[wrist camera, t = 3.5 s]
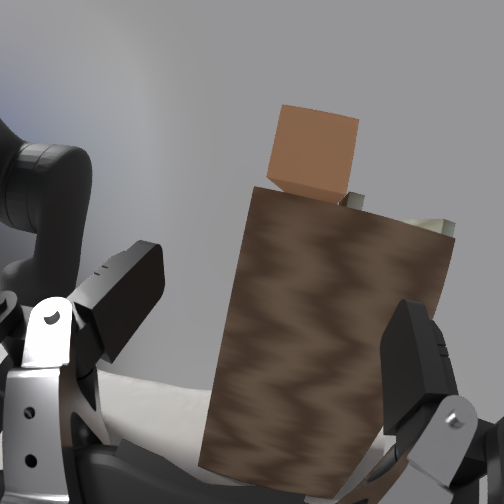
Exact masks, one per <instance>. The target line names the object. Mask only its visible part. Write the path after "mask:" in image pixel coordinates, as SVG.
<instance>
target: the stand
mask: <svg viewBox="0 0 504 504" xmlns="http://www.w3.org/2000/svg"><path fill="white" fill-rule="evenodd" d="M364 197H365V195H361V194H357V193H354V192H349V193H348V194H347V195H346V196H345V197H344V198H343V199H342V200H341V201H340V202H339V205H337V204H333V203H329V202H325V201H321V200H316V199H312V198H308V197H303V196H299V195H294V194H290V193H285V192H280V191H275V190H270V189H266V188H261V187H254V189H253V193H252V198H251V203H250V208H249V212H248V217H247V221H246V226H245V231H244V236H243V240H242V245H241V250H240V255H239V259H238V264H237V269H236V274H235V279H234V283H233V289H232V294H231V299H230V303H229V308H228V313H227V318H226V323H225V328H224V333H223V338H222V343H221V348H220V353H219V358H218V363H217V368H216V374H215V378H214V383H213V389H212V394H211V399H210V404H209V409H208V414H207V420H206V425H205V430H204V436H203V441H202V446H201V452H200V457H199V463H198V466H199V467H202V468H205V469H207V470H210V471H213V472H216V473H219V474H222V475H225V476H228V477H231V478H234V479H237V480H241V481H244V482H248V483H251V484H255V485H259V486H263V487H267V488H271V489H275V490H281V491H287V492H294V493H301V494H305V495H306V496H312V497H319V498H327V499H332V498H333V497H334V496H335V495H336V493H337V492H338V491H339V490H340V488H341V487H342V486H343V485H344V483H345V482H346V481H347V479H348V478H349V477H350V475H351V474H352V472H353V471H354V470H355V468H356V467H357V465H358V464H359V463H360V461H361V460H362V458H363V457H364V455H365V454H366V452H367V451H368V449H369V448H370V446H371V445H372V443H373V441H374V440H375V438H376V437H377V435H378V433H379V432H380V430H381V428H382V427H383V391H382V374H381V360H380V342H381V338H382V335H383V332H384V331H385V329H386V327H387V325H388V323H389V321H390V319H391V317H392V315H393V313H394V311H395V309H396V307H397V305H398V303H399V302H400V301H401V300H402V299H407V300H412V301H417V302H422V303H424V304H425V307H426V310H427V313H428V316H429V319H430V320H432V319H433V316H434V314H435V311H436V307H437V305H438V302H439V299H440V295H441V292H442V289H443V286H444V282H445V278H446V275H447V271H448V267H449V264H450V260H451V256H452V252H453V247H454V243H455V238H453V232H454V228H455V223H454V222H451V221H448V220H445V219H404V221H403V222H401V221H397V220H394V219H390V218H387V217H383V216H380V215H376V214H372V213H368V212H365V211H362V207H363V201H364Z"/></svg>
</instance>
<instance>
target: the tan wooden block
mask: <svg viewBox="0 0 504 504" xmlns="http://www.w3.org/2000/svg"><path fill="white" fill-rule="evenodd" d="M358 123H359V119H355V118H350V117H347V116H342V115H338V114H333V113H328V112H323V111H317V110H313V109H307V108H301V107H295V106H288V105H282V107H281V112H280V116H279V121H278V126H277V131H276V135H275V140H274V144H273V149H272V153H271V158H270V162H269V168H268V172H267V176H266V177H267V178H268V179H269V180H271V181H272V182H273V183H274V184H275V185H277V186H278V187H279V188H280V189H282V190H283V191H284V192H285V193H290V194H294V195H299V196H303V197H308V198H312V199H316V200H321V201H325V202H329V203H333V204H337V203H338V202H339V201H340V200H341V199H342V198H343V197H344V196H345V195H346V192H347V187H348V182H349V176H350V171H351V166H352V160H353V154H354V148H355V142H356V136H357V130H358Z"/></svg>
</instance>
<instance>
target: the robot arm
mask: <svg viewBox="0 0 504 504" xmlns="http://www.w3.org/2000/svg"><path fill="white" fill-rule="evenodd" d="M91 186H92V165H91V160H90V157H89V156H88V154H87V152H86V151H85V150H83V149H82V148H79V147H75V146H68V145H55V144H39V143H30V142H27V141H24V140H22V139H20V138H19V137H18V136H17V135H15V134H14V133H13V132H12V131H11V130H10V129H9V128H8V127H7V126H6V124H5V123H4V122H3V121H2V120H1V119H0V221H1V222H2V223H3V224H5V225H7V226H9V227H11V228H14V229H18V230H22V231H26V232H31V233H35V234H37V237H36V244H35V251H34V256H33V257H32V258H27V259H22V260H18V261H15V262H13V263H11V264H9V265H8V266H6V267H5V269H4V270H3V272H2V277H1V285H2V292H0V343H1V344H2V345H3V347H4V348H5V350H6V352H7V353H8V355H7V356H6V358H5V359H4V360H3V361H2V363H1V364H0V433H1V432H2V430H3V437H2V447H3V470H0V504H308V503H305V502H304V498H305V494H301V493H294V492H287V491H281V490H275V489H270V488H265V487H260V486H225V485H210V484H206V483H203V482H201V481H199V480H197V479H196V478H194V477H193V476H191V475H189V474H188V473H186V472H185V471H183V470H182V469H180V468H178V467H177V466H175V465H174V464H172V463H171V462H170V461H168V460H167V459H165V458H164V457H162V456H159V455H157V454H155V453H152V452H150V451H148V450H146V449H143V448H141V447H139V446H137V445H135V444H133V443H131V442H128V441H126V440H124V439H122V441H121V443H120V445H119V446H115V445H111V442H110V438H109V434H108V431H107V429H106V426H105V424H104V421H103V418H102V413H101V405H100V396H99V386H98V374H97V367H96V363H97V361H98V360H99V359H100V358H101V359H103V360H105V361H107V362H109V363H111V364H112V363H113V362H114V360H115V359H116V357H117V356H118V354H119V353H120V352H121V350H122V349H123V348H124V346H125V345H126V344H127V342H128V341H129V339H130V338H131V337H132V335H133V334H134V333H135V331H136V330H137V329H138V327H139V326H140V325H141V323H142V322H143V321H144V319H145V318H146V317H147V315H148V314H149V313H150V311H151V310H152V309H153V307H154V306H155V305H156V303H157V302H158V301H159V300H160V298H161V296H162V294H163V291H164V287H165V276H164V265H163V251H162V247H161V246H160V245H159V244H155V243H151V242H147V241H142V240H139V241H137V242H136V243H135V244H134V245H132V246H131V247H130V248H129V249H128V250H127V251H123V252H121V253H118V254H116V255H114V256H112V257H111V258H109V259H108V260H107V261H106V262H105V263H104V264H103V265H102V267H99V268H98V269H97V270H96V271H95V272H94V274H92V275H91V276H90V277H88V278H87V279H86V280H85V281H84V282H83V283H82V284H81V285H80V286H79V287H78V288H77V289H76V290H75V287H76V281H77V275H78V270H79V263H80V255H81V246H82V238H83V232H84V225H85V221H86V215H87V210H88V205H89V200H90V194H91ZM445 346H446V344H445V341H444V337H443V334H442V332H441V331H440V329H439V328H438V326H437V325H436V324H435V322H434V321H433V320H430V319H429V316H428V313H427V310H426V307H425V304H424V303H422V302H417V301H412V300H407V299H402V300H401V301H400V302H399V303H398V305H397V307H396V309H395V311H394V313H393V315H392V317H391V319H390V321H389V323H388V325H387V327H386V329H385V331H384V332H383V335H382V338H381V342H380V360H381V374H382V391H383V435H394V436H396V443H395V444H394V445H393V446H392V447H391V448H390V449H389V451H388V452H387V453H386V454H385V456H384V457H383V458H382V459H381V460H380V461H379V463H378V464H377V465H376V466H375V467H374V468H373V470H372V471H371V472H370V473H369V474H368V475H367V476H366V477H365V478H364V479H363V481H362V482H361V483H360V484H359V485H358V486H357V487H356V488H355V489H353V490H352V491H351V492H350V493H348V494H347V495H346V496H344V497H343V498H342V499H341V500H339V501H338V502H337V503H336V504H479V479H480V478H482V477H484V476H485V475H488V504H504V417H502V418H501V419H500V420H499V421H498V422H497V423H496V424H493V423H490V422H487V421H484V420H481V419H478V418H477V413H476V411H475V408H474V407H473V405H472V404H471V403H470V402H469V401H468V400H467V399H465V398H464V397H462V396H459V394H458V390H457V385H456V381H455V377H454V373H453V369H452V365H451V362H450V358H448V356H449V354H448V351H447V348H446V347H445Z"/></svg>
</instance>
